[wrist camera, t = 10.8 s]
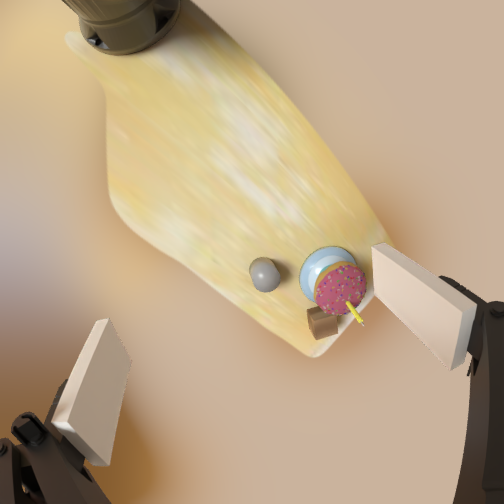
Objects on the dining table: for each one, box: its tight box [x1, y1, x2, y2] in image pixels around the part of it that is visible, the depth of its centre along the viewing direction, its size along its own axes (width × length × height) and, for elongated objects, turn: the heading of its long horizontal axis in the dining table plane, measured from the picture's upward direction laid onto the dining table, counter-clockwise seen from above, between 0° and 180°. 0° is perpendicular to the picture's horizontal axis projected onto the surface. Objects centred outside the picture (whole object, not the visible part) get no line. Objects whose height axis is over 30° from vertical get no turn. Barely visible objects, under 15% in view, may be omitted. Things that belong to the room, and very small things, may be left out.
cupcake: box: [313, 261, 367, 326], centre depth 43 cm, size 9×8×12 cm
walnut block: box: [307, 306, 338, 340], centre depth 51 cm, size 4×4×4 cm
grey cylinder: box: [249, 257, 281, 292], centre depth 46 cm, size 4×4×4 cm
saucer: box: [299, 246, 356, 303], centre depth 49 cm, size 10×10×1 cm
